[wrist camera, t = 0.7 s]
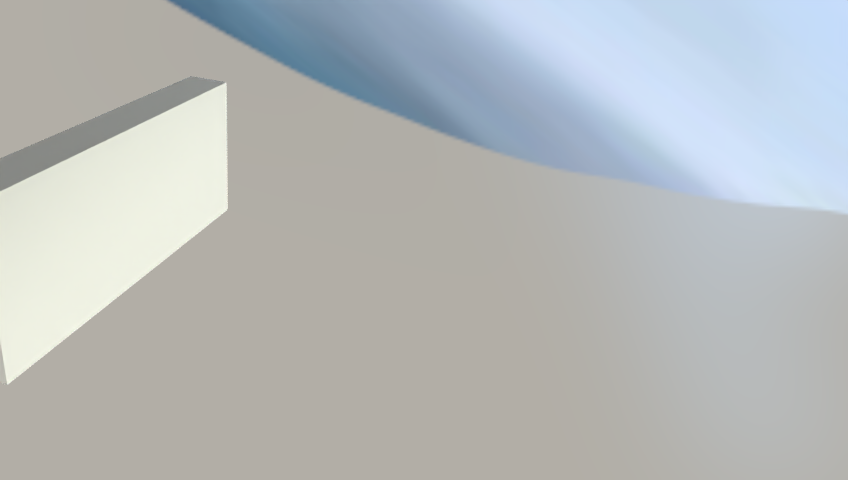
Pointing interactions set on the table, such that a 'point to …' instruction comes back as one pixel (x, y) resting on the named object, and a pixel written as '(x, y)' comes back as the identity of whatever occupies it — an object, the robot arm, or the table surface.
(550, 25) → the table surface
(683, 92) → the table surface
